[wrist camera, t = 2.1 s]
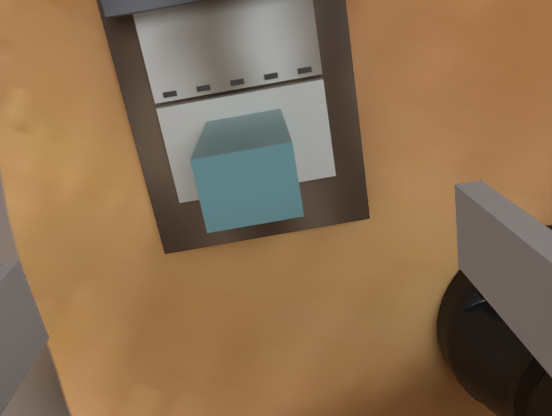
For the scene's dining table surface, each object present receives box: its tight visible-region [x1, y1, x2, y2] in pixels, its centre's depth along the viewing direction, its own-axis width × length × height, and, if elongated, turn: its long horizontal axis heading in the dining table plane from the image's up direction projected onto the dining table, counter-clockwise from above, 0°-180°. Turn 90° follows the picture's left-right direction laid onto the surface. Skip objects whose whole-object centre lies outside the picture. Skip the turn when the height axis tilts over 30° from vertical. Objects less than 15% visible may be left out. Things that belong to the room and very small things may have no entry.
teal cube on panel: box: [156, 78, 336, 233], centre depth 27 cm, size 10×6×10 cm, turn 99°
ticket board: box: [97, 0, 370, 254], centre depth 30 cm, size 14×20×4 cm
